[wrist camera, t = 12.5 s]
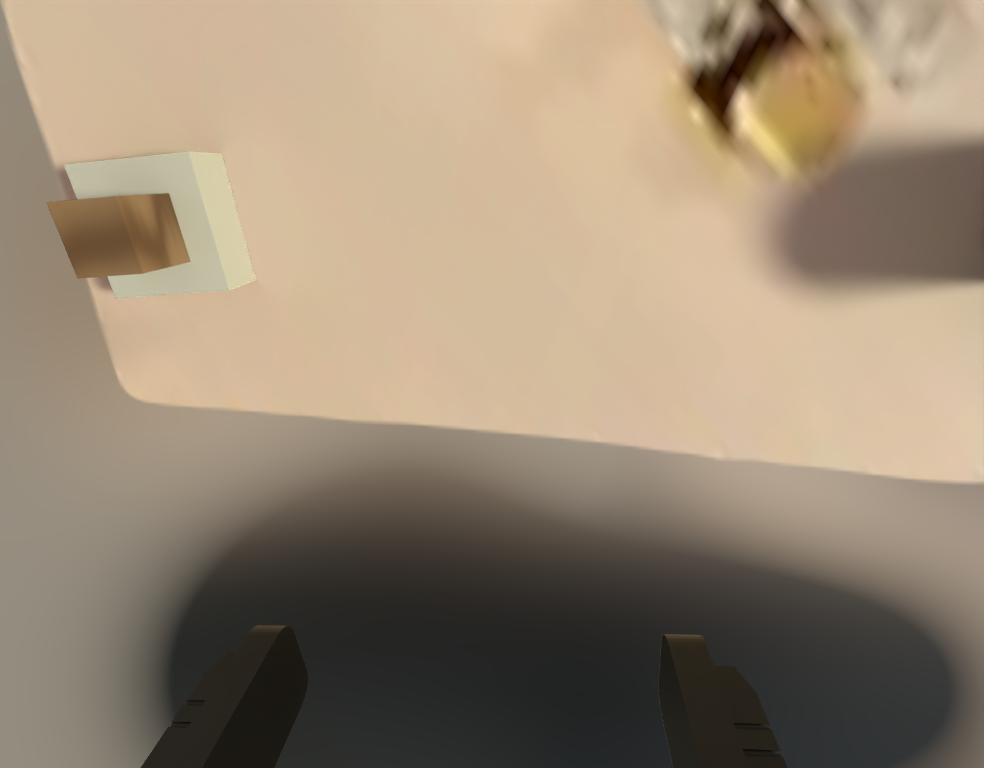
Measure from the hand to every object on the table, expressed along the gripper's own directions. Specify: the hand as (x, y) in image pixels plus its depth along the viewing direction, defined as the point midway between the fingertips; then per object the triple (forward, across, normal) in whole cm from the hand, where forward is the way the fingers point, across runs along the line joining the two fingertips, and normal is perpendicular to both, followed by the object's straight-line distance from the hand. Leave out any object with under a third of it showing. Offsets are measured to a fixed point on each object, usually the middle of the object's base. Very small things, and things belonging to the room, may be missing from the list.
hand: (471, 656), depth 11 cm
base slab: (+33, +28, -8) cm, 44 cm away
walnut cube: (+29, +28, -8) cm, 41 cm away
